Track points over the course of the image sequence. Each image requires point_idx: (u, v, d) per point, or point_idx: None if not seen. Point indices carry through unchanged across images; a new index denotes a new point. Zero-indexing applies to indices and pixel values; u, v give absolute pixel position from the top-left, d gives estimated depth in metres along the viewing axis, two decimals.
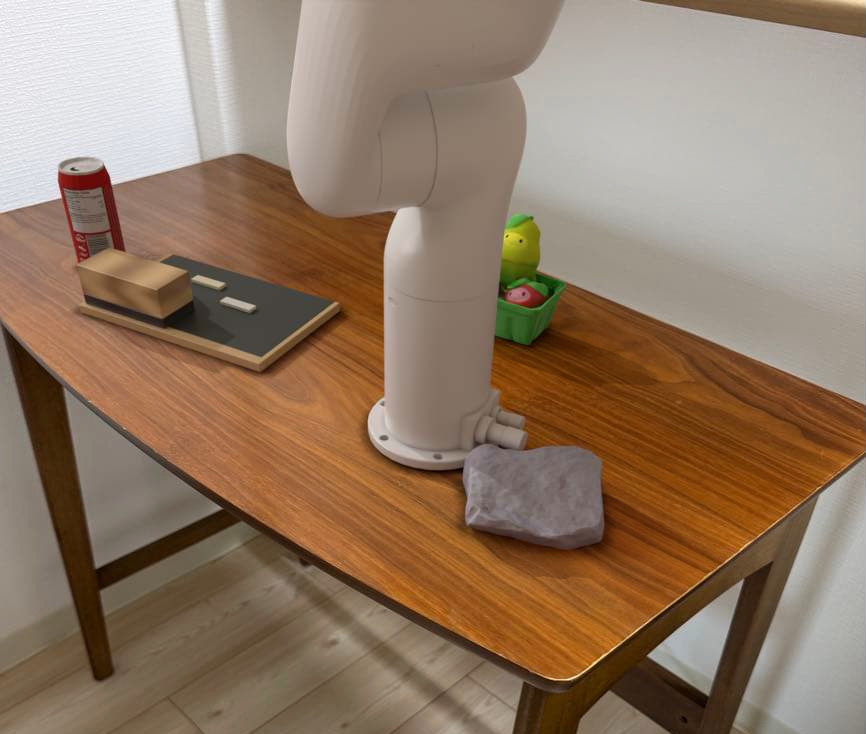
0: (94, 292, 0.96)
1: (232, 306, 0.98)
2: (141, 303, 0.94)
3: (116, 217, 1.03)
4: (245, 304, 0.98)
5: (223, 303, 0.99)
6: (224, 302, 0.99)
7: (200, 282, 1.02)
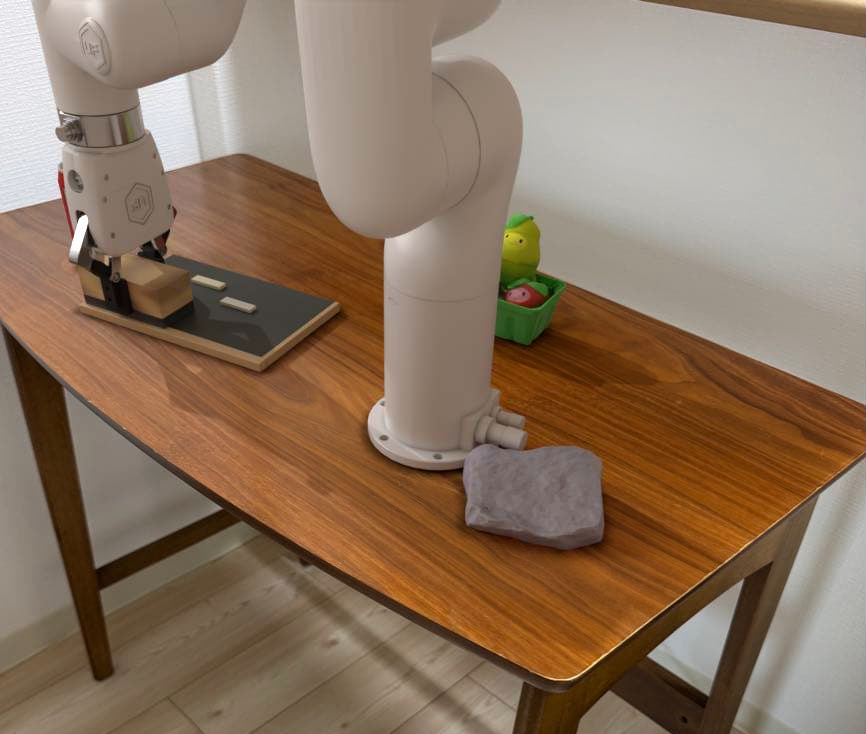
0: (94, 292, 0.96)
1: (232, 306, 0.98)
2: (141, 303, 0.94)
3: None
4: (245, 304, 0.98)
5: (223, 303, 0.99)
6: (224, 302, 0.99)
7: (200, 282, 1.02)
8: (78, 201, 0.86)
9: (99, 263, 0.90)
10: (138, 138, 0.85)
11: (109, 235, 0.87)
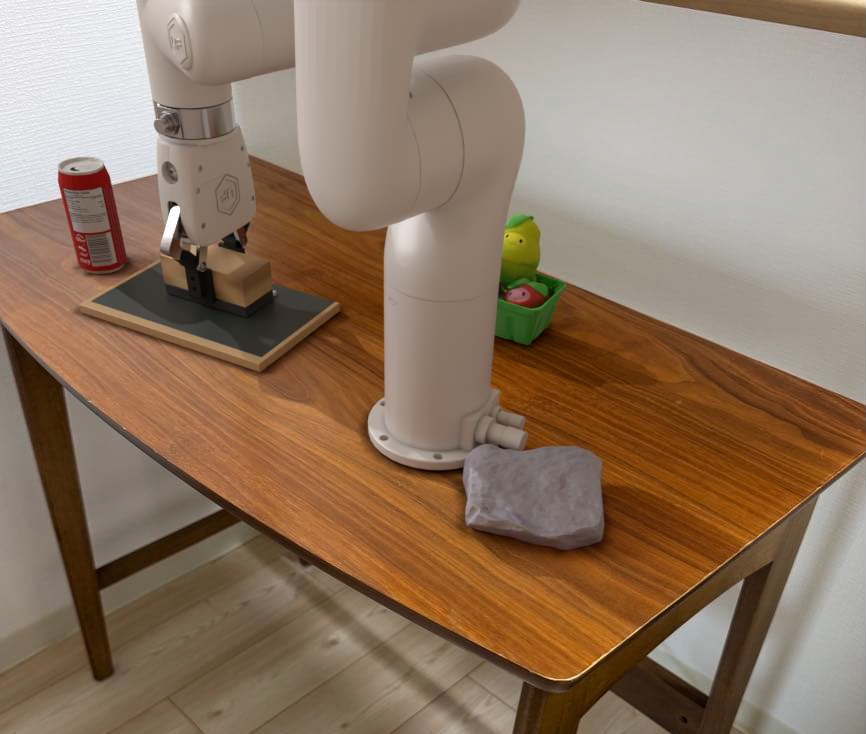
0: (176, 282, 0.99)
1: None
2: (225, 292, 0.96)
3: (116, 217, 1.03)
4: None
5: None
6: None
7: None
8: (171, 192, 0.88)
9: (188, 253, 0.92)
10: (230, 130, 0.87)
11: (200, 225, 0.90)
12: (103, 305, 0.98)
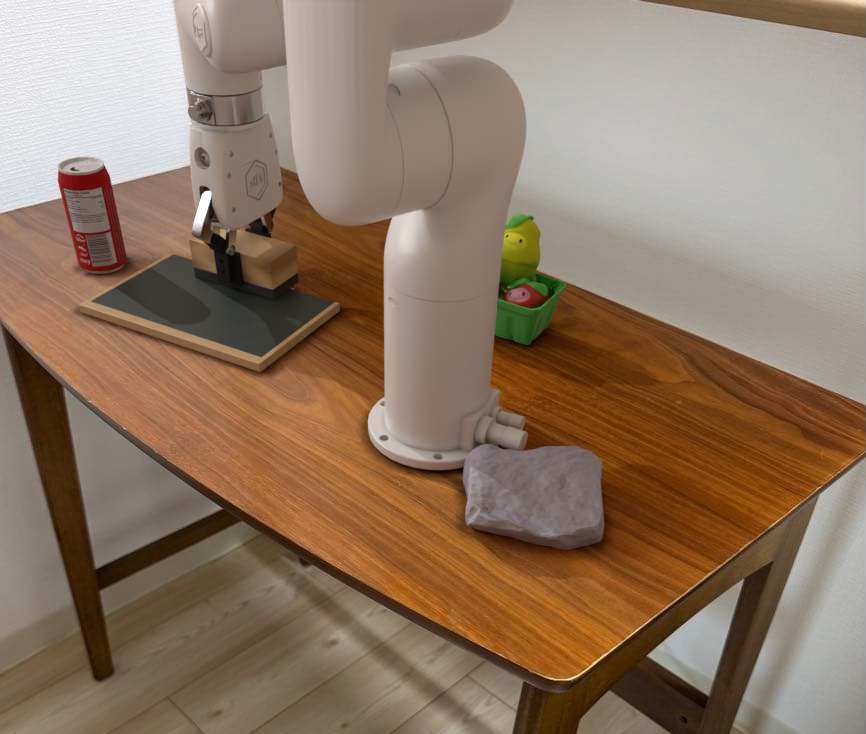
0: (205, 265, 1.02)
1: None
2: (252, 275, 0.99)
3: (116, 217, 1.03)
4: None
5: None
6: None
7: None
8: (203, 177, 0.91)
9: (218, 236, 0.95)
10: (260, 117, 0.91)
11: (230, 209, 0.93)
12: (103, 305, 0.98)
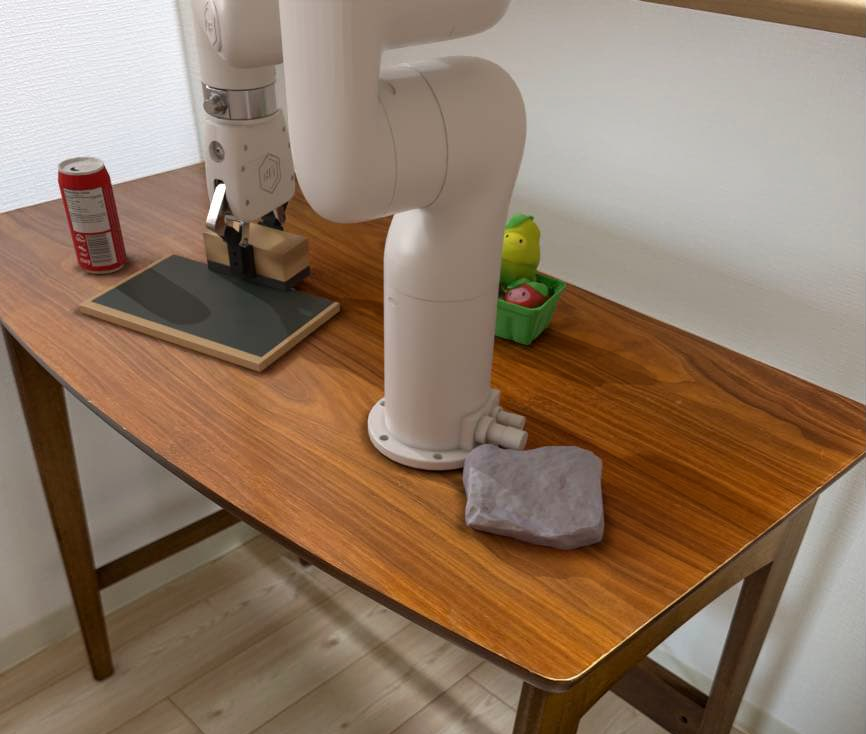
0: (218, 258, 1.03)
1: None
2: (265, 267, 1.01)
3: (116, 217, 1.03)
4: None
5: None
6: None
7: None
8: (218, 170, 0.93)
9: (232, 229, 0.97)
10: (274, 112, 0.92)
11: (244, 202, 0.94)
12: (103, 305, 0.98)
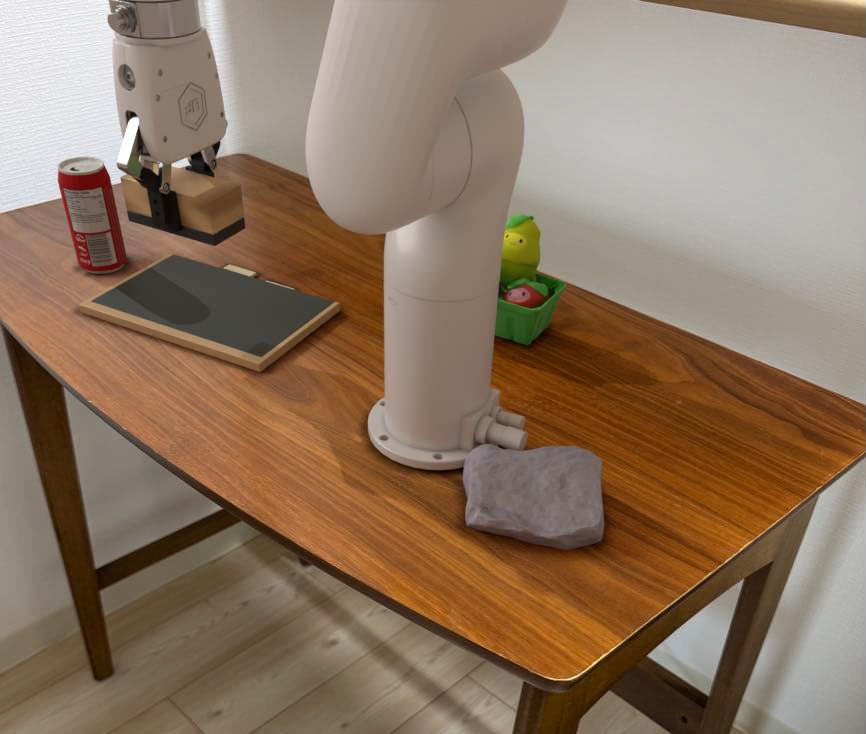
0: (139, 208, 0.90)
1: None
2: (191, 217, 0.88)
3: (116, 217, 1.03)
4: None
5: None
6: None
7: None
8: (129, 99, 0.80)
9: (149, 171, 0.84)
10: (194, 31, 0.79)
11: (161, 138, 0.81)
12: (103, 305, 0.98)
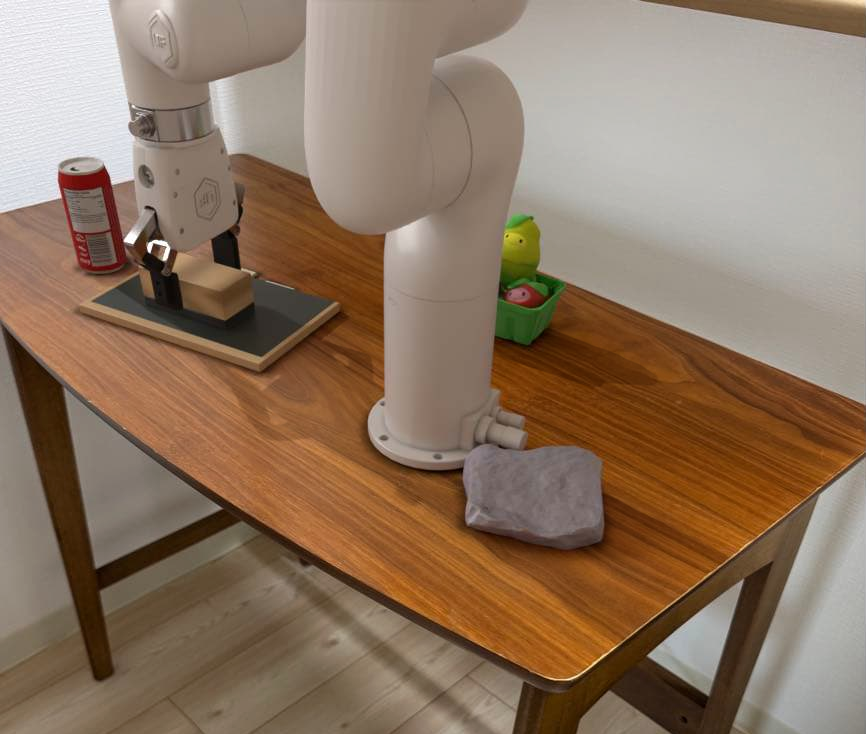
0: None
1: None
2: (204, 305, 0.94)
3: (116, 217, 1.03)
4: None
5: None
6: None
7: None
8: (148, 196, 0.85)
9: (151, 256, 0.87)
10: (209, 132, 0.85)
11: (178, 230, 0.87)
12: (103, 305, 0.98)
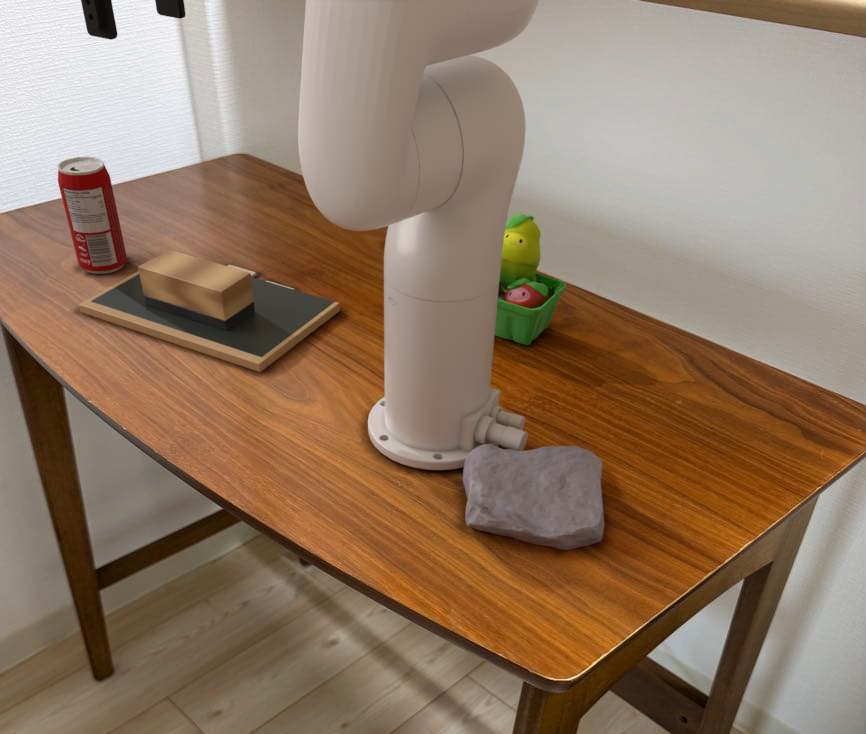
0: (155, 294, 0.97)
1: None
2: (204, 305, 0.94)
3: (116, 217, 1.03)
4: None
5: None
6: None
7: None
8: None
9: None
10: None
11: None
12: (103, 305, 0.98)
